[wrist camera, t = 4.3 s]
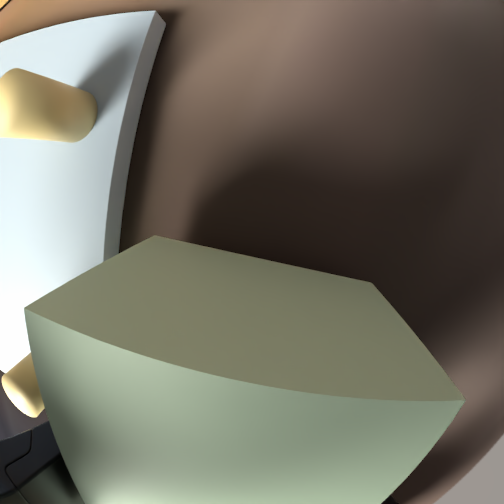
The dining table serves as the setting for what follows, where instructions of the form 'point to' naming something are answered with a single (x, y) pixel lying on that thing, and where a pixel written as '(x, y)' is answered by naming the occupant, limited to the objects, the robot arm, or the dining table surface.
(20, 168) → the chassis
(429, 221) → the dining table surface
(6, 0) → the puzzle cube
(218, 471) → the pale green block
